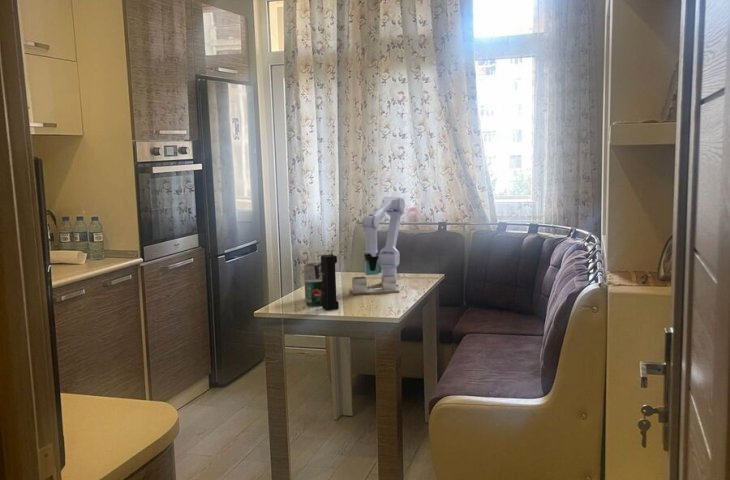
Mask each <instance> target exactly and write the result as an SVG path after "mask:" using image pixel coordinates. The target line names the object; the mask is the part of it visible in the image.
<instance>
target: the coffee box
mask: <svg viewBox="0 0 730 480" xmlns="http://www.w3.org/2000/svg"><path fill="white" fill-rule="evenodd" d="M303 271H304V273H303V274H304V275H303V276H304V280H303V281H305V280H308V279H322V274H321V262H313V263H311V262H309V263H307V264H305V265H304V266H303ZM304 300H305V302H306V285H305V284H304Z"/></svg>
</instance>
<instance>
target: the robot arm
mask: <svg viewBox="0 0 730 480" xmlns="http://www.w3.org/2000/svg"><path fill="white" fill-rule="evenodd" d="M405 207H406V206H405V199H404V198H403V196H384V197H383V199H382V201H381V205H379V207H375V208H374V209H373V210H372V212H371V211H370V213H369V214H368V215H366V216H364V217H363V218H362V222H361V226H362V229H363V232H364V248H365V249H364V250H362V253H363V254H364V253H365V254H364V257H365V261H369V266H370V270H371V271H375V269H376V263H377V261H378V266H380V268H381V270H380V271H381V272H380V275H381V276H383V275H394V276H396V286H399V285H400V284H399V283H398V280H397V278H398V277H397V267H399V265H400V261H401V260H400V259H401V258H400V257H401V256H400V254H401V253H400V251H399V250H398V249H397V248H396V246H397V242H398V236H399V229H400V224H401V219H402V216H403V215H404V211H405ZM385 213H386V214H387V216H390V219H389V225H388V230H387V235H386V241H385V246H384V247H382V248H381V249H380V251H379V250H378V230H377V229H378V227H379V226H380V222H381V221H382V219H383V218H384V217H385ZM378 252H379V253H378ZM377 254H378V255H377ZM381 276H380V277H381ZM379 284H380V285H381V286H382V280H380V281H379Z"/></svg>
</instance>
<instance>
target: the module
mask: <svg viewBox="0 0 730 480" xmlns="http://www.w3.org/2000/svg"><path fill="white" fill-rule="evenodd" d="M363 266H364V267H363V268H364V275H366V276H373V275H379V274H380V273H379V272H380V271H379V270H380V268H379V263H378V260H377V263H376V269H375V271H371V270H370V266H369V261H367V260H364V261H363Z"/></svg>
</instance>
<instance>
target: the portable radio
mask: <svg viewBox="0 0 730 480" xmlns="http://www.w3.org/2000/svg"><path fill="white" fill-rule="evenodd" d="M320 263H321V274H322V283H321V306H320V307H321V308H322V309H323V310H325V311H327V312H328V311H336V310H339V309H340V304H339V301H338V299H337V280H336V279H337V277H336V275H337V274H336V264H337V263H338V256H337V255H335V254H333V249H332V250H331V254H321V256H320Z"/></svg>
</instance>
